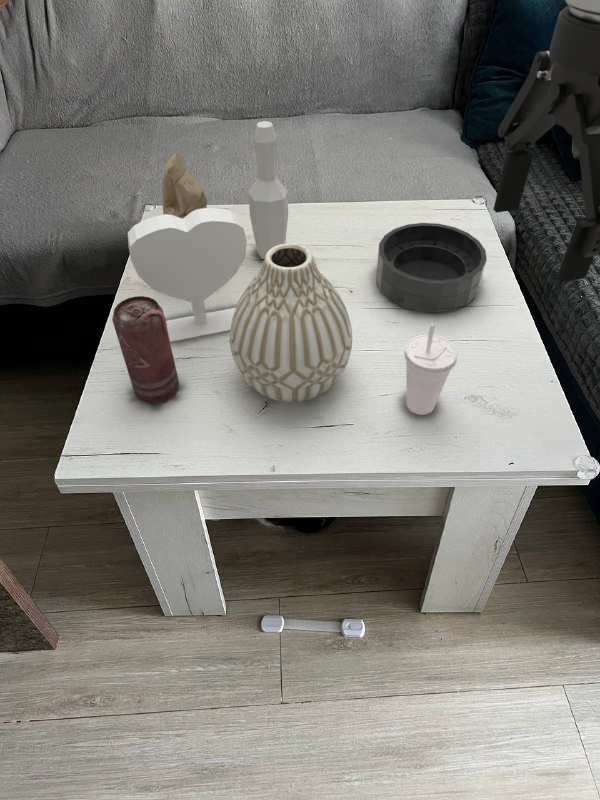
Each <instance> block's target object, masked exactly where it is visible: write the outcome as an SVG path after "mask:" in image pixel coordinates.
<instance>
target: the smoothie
mask: <svg viewBox="0 0 600 800" xmlns="http://www.w3.org/2000/svg"><path fill="white" fill-rule="evenodd" d="M435 328H436V323H435V322H430V326H429V330H428V331H429V332H428V334H427V333H426V334H419V335H416V336H413V337H411V338H410V339H409V340H408V341H407V343H406V345H405V347H404V348H405V349H404V352H403V356H404V360H405V361H406V365H405V366H406V367H405V368H406V371H405V373H406V377H405V378H406V382H405V384H406V386H405V387H406V389H405V390H406V407H407V409H408V410H409V411H410V412H411V413H412V414H416V415H420V416H425V415H429V414H431V413H432V412H433V411H434V409H435V407H436V404H437V402H438V400H439V398H440V396H441V393H442V391H443V389H444V386H445V383H446V382H447V379H448V377H449V374H450V372H451V370H452V369H454V367H456V364H457V361H458V360H457V359H458V350H457V348H456V346H455V344H454V343H452V341H450V340H449V339H447V338H446V337H444V336H441V335H438V334H435Z"/></svg>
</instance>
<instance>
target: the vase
mask: <svg viewBox="0 0 600 800" xmlns="http://www.w3.org/2000/svg"><path fill="white" fill-rule="evenodd" d="M234 308H235V311H234V314H233V318H232V322H231V328H230V330H229V349H230V353H231V356H232V360H233V363H234V365H235V367H236V369H237V371H238V372H239V374H240V376H241V377H242V378H243V379H244V381H245V382H246V383H247V384H248V385H249V386H250V387H251V388H252V389H253V390H255V391H256V392H257V393H259V394H260V395H262V396H264V397H266V398H269V399H272V400H275V401H280V402H284V403H297V402H303V401H308V400H310V399H314V398H316V397H318V396H320V395H322V394H323V393H325V392H326V391H328V390H329V389H330V388H331V387H333V385H334V384H336V383H337V381H338V380H339V378H340V377H341V376H342V374H343V372H344V371H345V369H346V367H347V365H348V362H349V360H350V356H351V352H352V347H353V328H352V324H351V319H350V316H349V312H348V311H347V307H346V304H345V303H344V301H343V299H342V297H341V296H340V293H339V292H338V291H337V289H336V288H335V286H334V285H333V284H332V283H331V282H330V281H329V280H328V278H327V277H326V276H324V274H323V273H321V271H320V270H319V269H318V265H317V264H316V261H315V258H314V256H313V253H312V251H311V250H309V248H307V247H306V246H304V245H302V244H299V243H292V242H291V243H290V242H289V243H288V242H287V243H286V242H285V244H280V245H277V246H275V247H273V248H271V249H270V250H269V251H268V252H267V254H266V256H265V259H263V262H262V265H261V268H260V270H259V272H258V274H257V275H255V277H254V278H253V279H252V280H251V281H250V283H249V284H248V285H247V287H246V288H245V289H244V291H243V292H242V294H241V296H240V298H239V299H238V302H237V304H236V306H235V307H234Z"/></svg>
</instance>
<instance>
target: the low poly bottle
mask: <svg viewBox="0 0 600 800" xmlns="http://www.w3.org/2000/svg"><path fill="white" fill-rule="evenodd" d="M254 131H255V132H254V135H253V142H254V148H255V149H254V150H255V156H256V166H257V178H256V180H255V182H254V183H253V184H252V186H251V188H250V190H249V192H248V193H247V194H248V206H249V207H248V208H249V218H250V225H251V229H252V233H253V236H254V237H253V238H254V242H255V246H256V251H257V254H258V257H260V258H261V260H264V259H265V256H266V254H267V252H268V251H269V250H270V249H271V248H273V247H275V246H277V245H280V244H286V241H287V231H288V221H289V191H288V189H287V188H286V187H285V185H284V184H283V183H282V182H281V180H280V179H279V178H278V177H277V141H278V139H277V137H278V136H277V134H276V131H275V128H274V124H273V123H272V122H271V121H267V120H263V121H258V122H257V123H256V127H255V130H254Z"/></svg>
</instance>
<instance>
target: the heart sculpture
mask: <svg viewBox="0 0 600 800" xmlns="http://www.w3.org/2000/svg"><path fill="white" fill-rule="evenodd" d="M247 242H248V241H247V235H246V233H245V229H244V227H243V224H242V222H241V219H240V217H239V215H238V214H236V213H235V212H233V211H232V210H229V209H224V208H219V207H217V208H216V207H215V208H214V207H207V208H203V209H196V210H194V211H192V212H191V213H189V214H188V215H187V216H186V217H184V218H183V219H182V218H179V217H176V216H174V215H168V214H164V215H163V214H160V215H159V214H158V215H155V216H152V217H148V218H146V219H144V220H142V221H140V222H138V223H136V224H135V225H133V226H132V227H131V228H130V230H129V231H128V232H127V245H128V252H129V257H130V262H131V263H132V266H133V267H134V270H135V273H136V274H137V277H138V278H140V279H141V280H142V281H143V282H144V283H145V284H147V285H148V286H149V287H150V288H151V289H153V290H155V291H157V292H159V293H162V294H164V295H167V296H169V297H170V298H175V299H179V300H182V301H187V302H190V303H191V307H192V314H193V315H191V316H190V315H189V316H185V317H179V318H173V319H168V320H165V321H166V324H167V330H168V335H169V340H170V343H172V342H176V341H182V340H187V339H191V338H192V339H193V338H197V337H202V336H206V335H211V334H217V333H221V332H226V331H227V332H228V331H230V328H231V322H232V318H233V314H234V311H235V308H236V307H231V308H226V309H221V310H216V311H211V312H206V307H205V300H207V298H209V297H211V296H212V295H213V294H215V293H216V292H217V291H220V289H222V288H223V287H225V285H226V284H227V283H228V282H230V281H231V280H232V279H233V277H235V275H237V274H238V271H239V269H240V267H241V266H242V264H243V262H244V261H245V259H246V252H247Z"/></svg>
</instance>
